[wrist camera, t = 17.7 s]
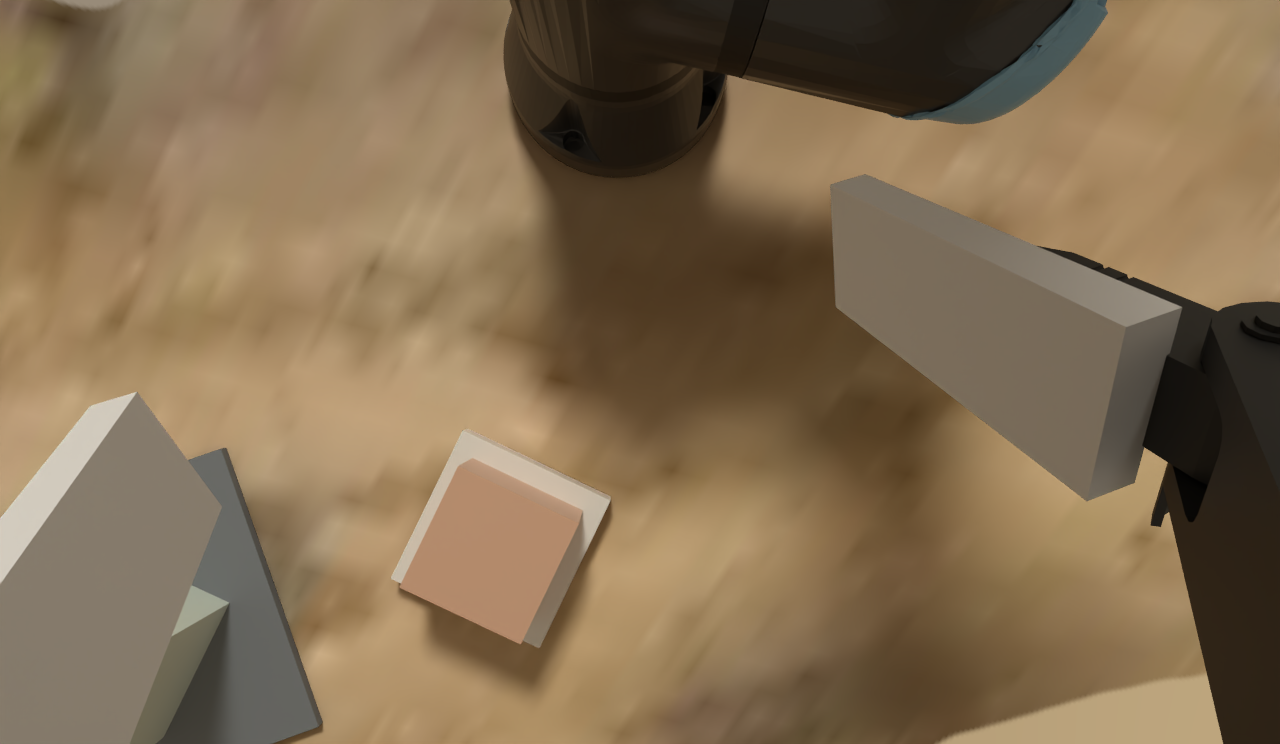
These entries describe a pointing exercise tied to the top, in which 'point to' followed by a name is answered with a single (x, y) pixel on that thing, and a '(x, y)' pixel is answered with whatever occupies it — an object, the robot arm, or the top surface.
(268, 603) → the rubber mat
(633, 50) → the robot arm
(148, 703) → the pale sage matte cube
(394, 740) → the top surface
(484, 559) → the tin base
